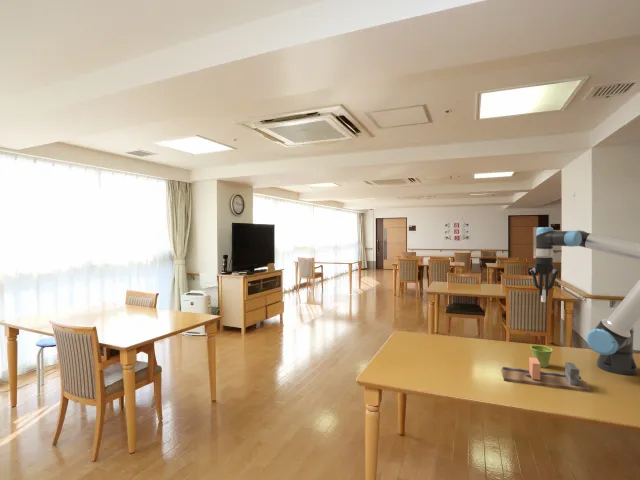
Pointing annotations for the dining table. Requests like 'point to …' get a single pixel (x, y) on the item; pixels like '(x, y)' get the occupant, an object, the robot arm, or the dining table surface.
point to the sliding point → (534, 368)
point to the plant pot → (541, 354)
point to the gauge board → (548, 378)
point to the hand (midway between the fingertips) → (543, 301)
